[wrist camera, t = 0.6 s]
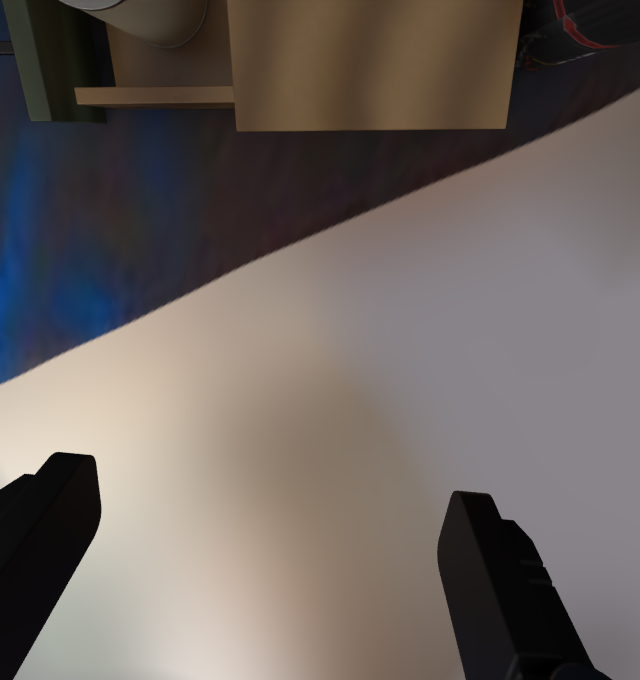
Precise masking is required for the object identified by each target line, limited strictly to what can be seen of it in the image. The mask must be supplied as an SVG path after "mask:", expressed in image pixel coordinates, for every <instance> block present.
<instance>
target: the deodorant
mask: <svg viewBox="0 0 640 680" xmlns="http://www.w3.org/2000/svg"><path fill="white" fill-rule="evenodd" d="M639 40H640V0H523V7H522V14H521V21H520V28H519V36H518V43H517V50H516V57H515V65H514V67H516V68H519V69H522V70H532V71H536V70H540V69H544V68H547V67H551V66H554V65H558V64H561V63H564V62H568V61H571V60H575V59H578V58H581V57H585V56H588V55H592V54H595V53H598V52H602V51H605V50H609V49H612V48H615V47H619V46H622V45H626V44H629V43H632V42H636V41H639Z"/></svg>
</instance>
